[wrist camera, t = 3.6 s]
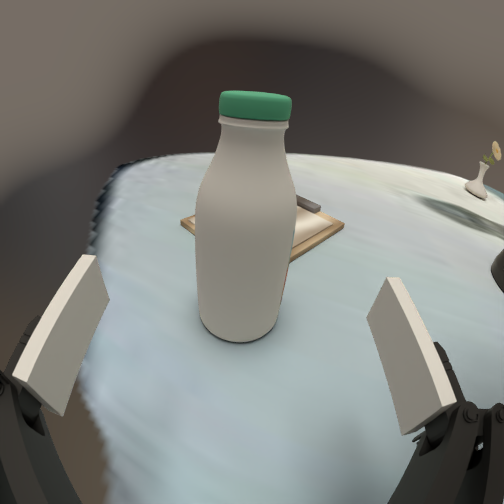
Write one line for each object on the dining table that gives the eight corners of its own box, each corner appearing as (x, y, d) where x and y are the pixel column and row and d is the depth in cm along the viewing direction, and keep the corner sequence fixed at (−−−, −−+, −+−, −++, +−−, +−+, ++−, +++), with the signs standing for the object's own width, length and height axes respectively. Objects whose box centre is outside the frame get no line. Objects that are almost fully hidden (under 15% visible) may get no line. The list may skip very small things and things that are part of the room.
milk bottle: (272, 351, 24) (322, 103, 12) (189, 335, 24) (175, 92, 13) (279, 293, 30) (313, 97, 18) (210, 281, 30) (214, 88, 19)
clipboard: (343, 227, 43) (346, 218, 42) (258, 281, 31) (260, 269, 30) (271, 192, 52) (272, 184, 51) (180, 224, 40) (180, 213, 39)
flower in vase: (471, 196, 77) (488, 136, 62) (459, 185, 86) (474, 130, 72) (492, 205, 75) (510, 149, 61) (480, 193, 84) (495, 141, 70)
